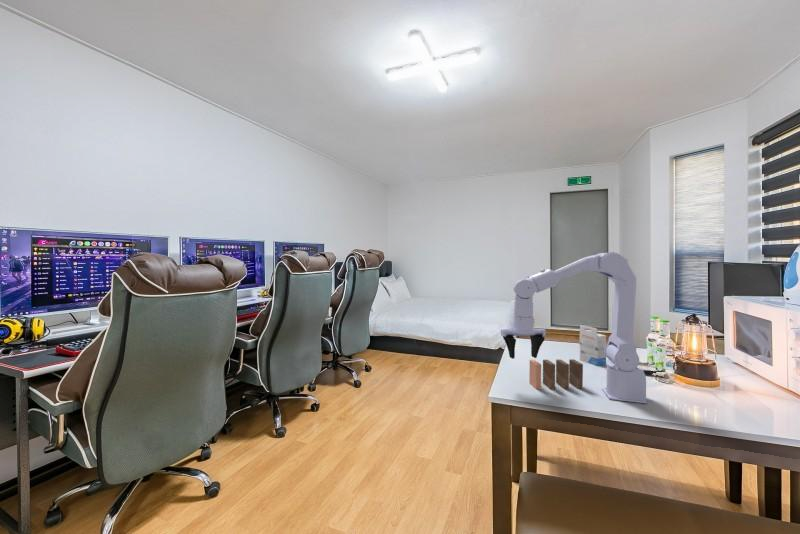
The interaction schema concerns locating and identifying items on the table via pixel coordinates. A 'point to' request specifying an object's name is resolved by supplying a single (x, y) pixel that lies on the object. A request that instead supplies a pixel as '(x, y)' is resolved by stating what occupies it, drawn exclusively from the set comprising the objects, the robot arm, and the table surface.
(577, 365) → the walnut domino
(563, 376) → the walnut domino
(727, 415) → the table surface
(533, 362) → the terracotta domino
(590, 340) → the ink box
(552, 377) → the walnut domino
